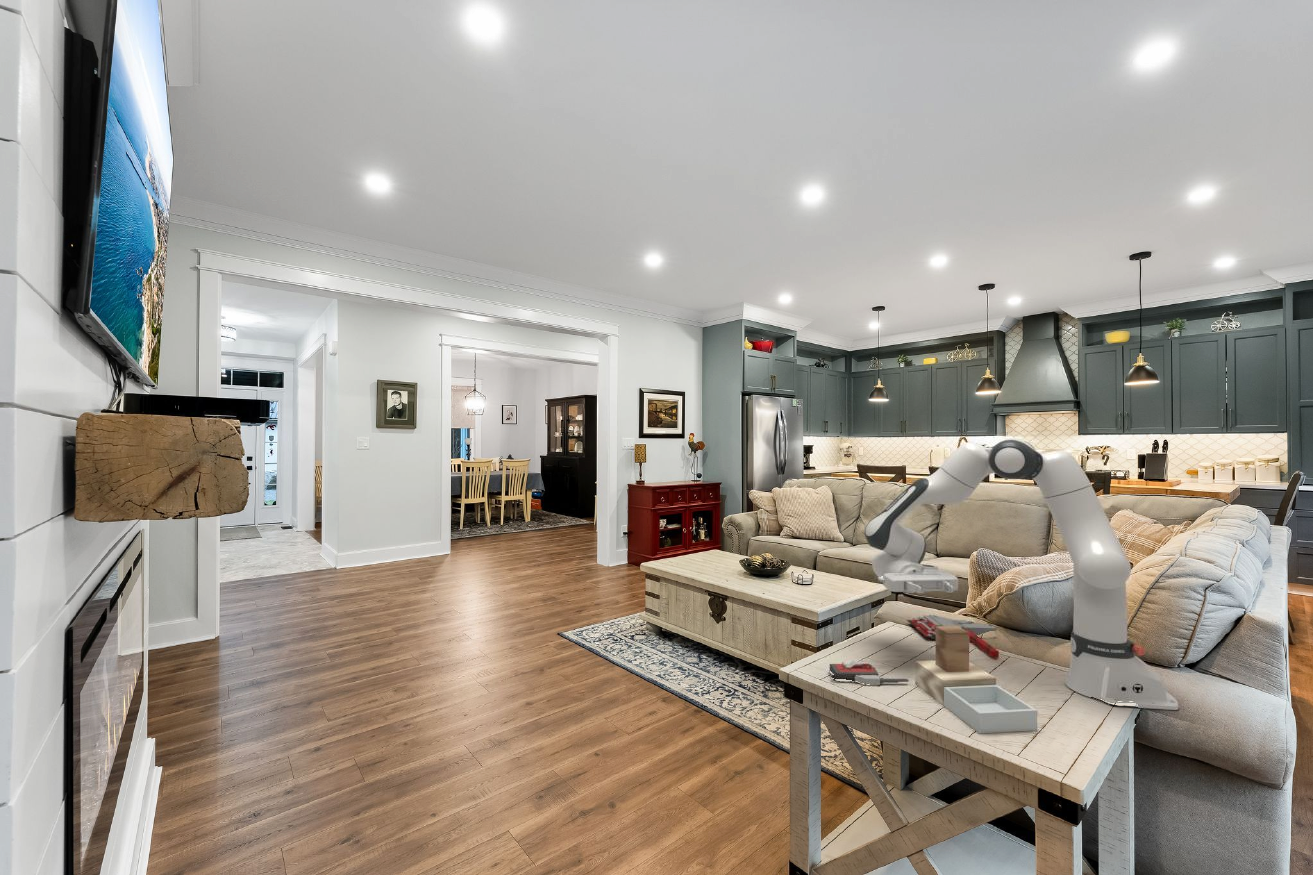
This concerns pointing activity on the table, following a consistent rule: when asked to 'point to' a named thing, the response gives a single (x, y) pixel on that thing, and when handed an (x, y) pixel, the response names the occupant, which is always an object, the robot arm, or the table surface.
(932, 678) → the pale wood block
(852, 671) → the toy chainsaw
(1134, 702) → the robot arm
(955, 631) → the walnut block
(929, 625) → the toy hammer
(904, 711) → the table surface
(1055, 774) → the table surface
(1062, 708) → the table surface
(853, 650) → the table surface
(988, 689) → the grey bin
